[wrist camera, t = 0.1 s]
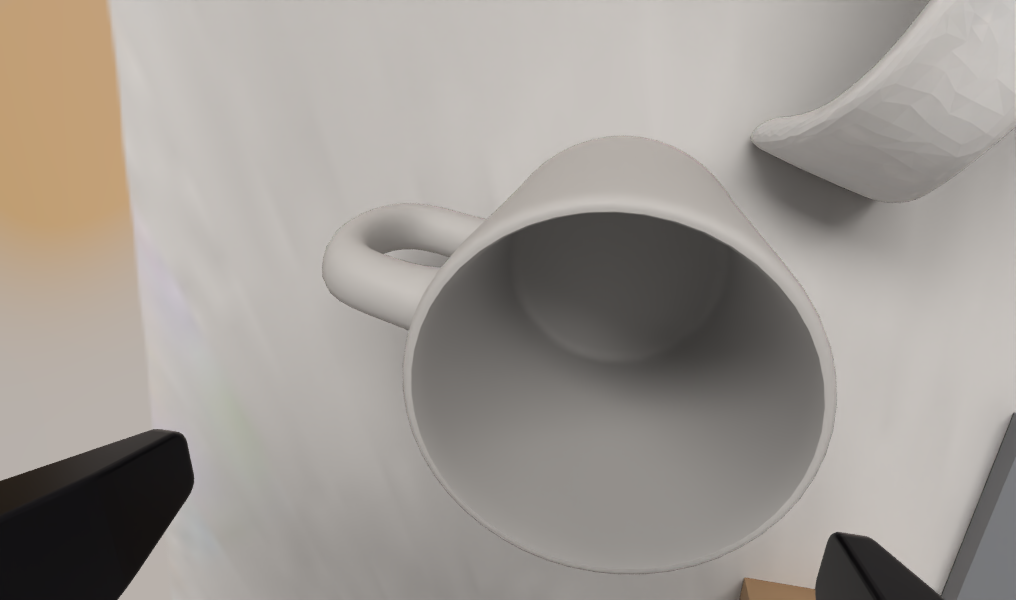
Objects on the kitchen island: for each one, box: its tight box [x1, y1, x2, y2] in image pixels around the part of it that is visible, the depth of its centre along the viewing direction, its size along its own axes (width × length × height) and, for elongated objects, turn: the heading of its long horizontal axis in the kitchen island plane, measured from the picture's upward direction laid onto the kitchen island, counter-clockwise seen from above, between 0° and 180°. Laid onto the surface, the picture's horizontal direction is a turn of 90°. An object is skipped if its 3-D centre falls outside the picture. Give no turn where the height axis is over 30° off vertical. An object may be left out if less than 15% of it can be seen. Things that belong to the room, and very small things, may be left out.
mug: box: [322, 136, 837, 574], centre depth 16 cm, size 12×8×11 cm
